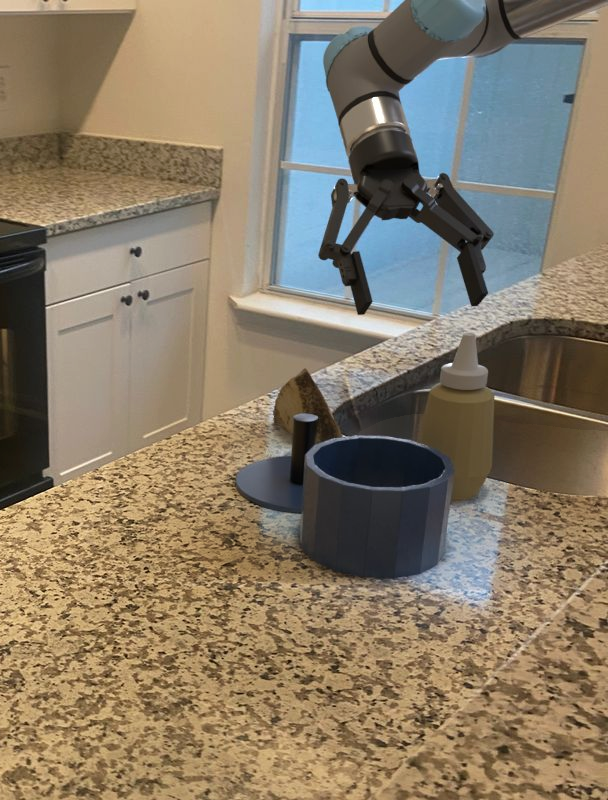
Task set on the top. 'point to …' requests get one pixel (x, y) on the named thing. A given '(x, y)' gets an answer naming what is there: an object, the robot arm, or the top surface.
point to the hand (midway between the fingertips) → (423, 304)
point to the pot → (375, 506)
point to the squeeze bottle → (462, 420)
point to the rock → (304, 406)
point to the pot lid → (280, 471)
